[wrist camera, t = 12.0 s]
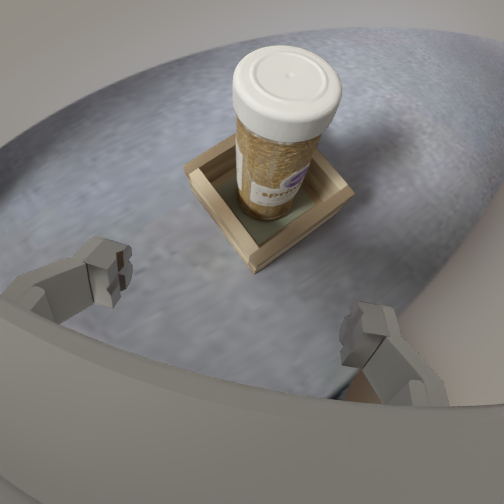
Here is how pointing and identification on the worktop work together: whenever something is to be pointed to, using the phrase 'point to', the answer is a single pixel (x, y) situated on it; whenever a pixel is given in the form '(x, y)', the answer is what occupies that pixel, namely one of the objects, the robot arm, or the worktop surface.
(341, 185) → the box
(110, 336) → the worktop surface
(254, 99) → the sprinkles bottle
